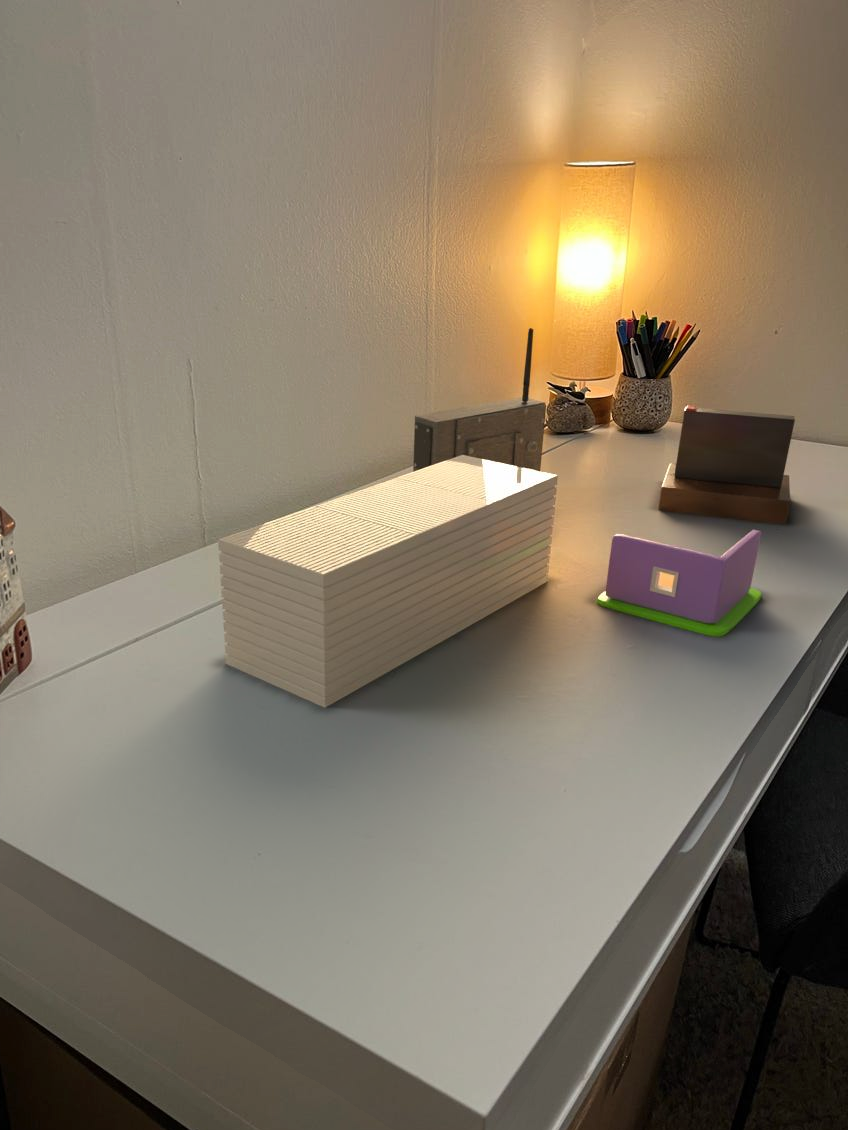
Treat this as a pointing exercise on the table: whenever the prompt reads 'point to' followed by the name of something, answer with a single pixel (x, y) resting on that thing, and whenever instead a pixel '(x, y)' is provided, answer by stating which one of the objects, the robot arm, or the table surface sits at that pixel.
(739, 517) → the stand
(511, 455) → the electronic device
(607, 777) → the table surface
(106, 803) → the table surface
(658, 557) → the miniature room corner
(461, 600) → the stack of papers
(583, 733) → the table surface
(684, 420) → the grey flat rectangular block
